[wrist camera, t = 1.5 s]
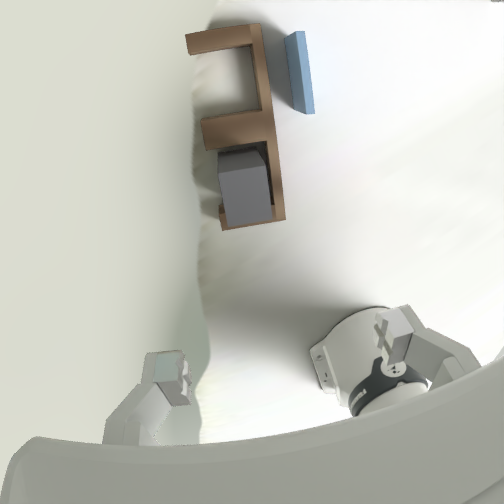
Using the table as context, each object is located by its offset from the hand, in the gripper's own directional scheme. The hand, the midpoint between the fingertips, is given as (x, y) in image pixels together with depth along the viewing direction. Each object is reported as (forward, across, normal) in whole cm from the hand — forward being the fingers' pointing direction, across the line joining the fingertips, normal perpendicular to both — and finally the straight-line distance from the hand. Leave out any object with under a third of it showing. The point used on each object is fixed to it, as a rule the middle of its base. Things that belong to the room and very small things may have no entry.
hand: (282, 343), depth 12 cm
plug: (+24, 0, 0) cm, 25 cm away
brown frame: (+24, -2, -5) cm, 25 cm away
